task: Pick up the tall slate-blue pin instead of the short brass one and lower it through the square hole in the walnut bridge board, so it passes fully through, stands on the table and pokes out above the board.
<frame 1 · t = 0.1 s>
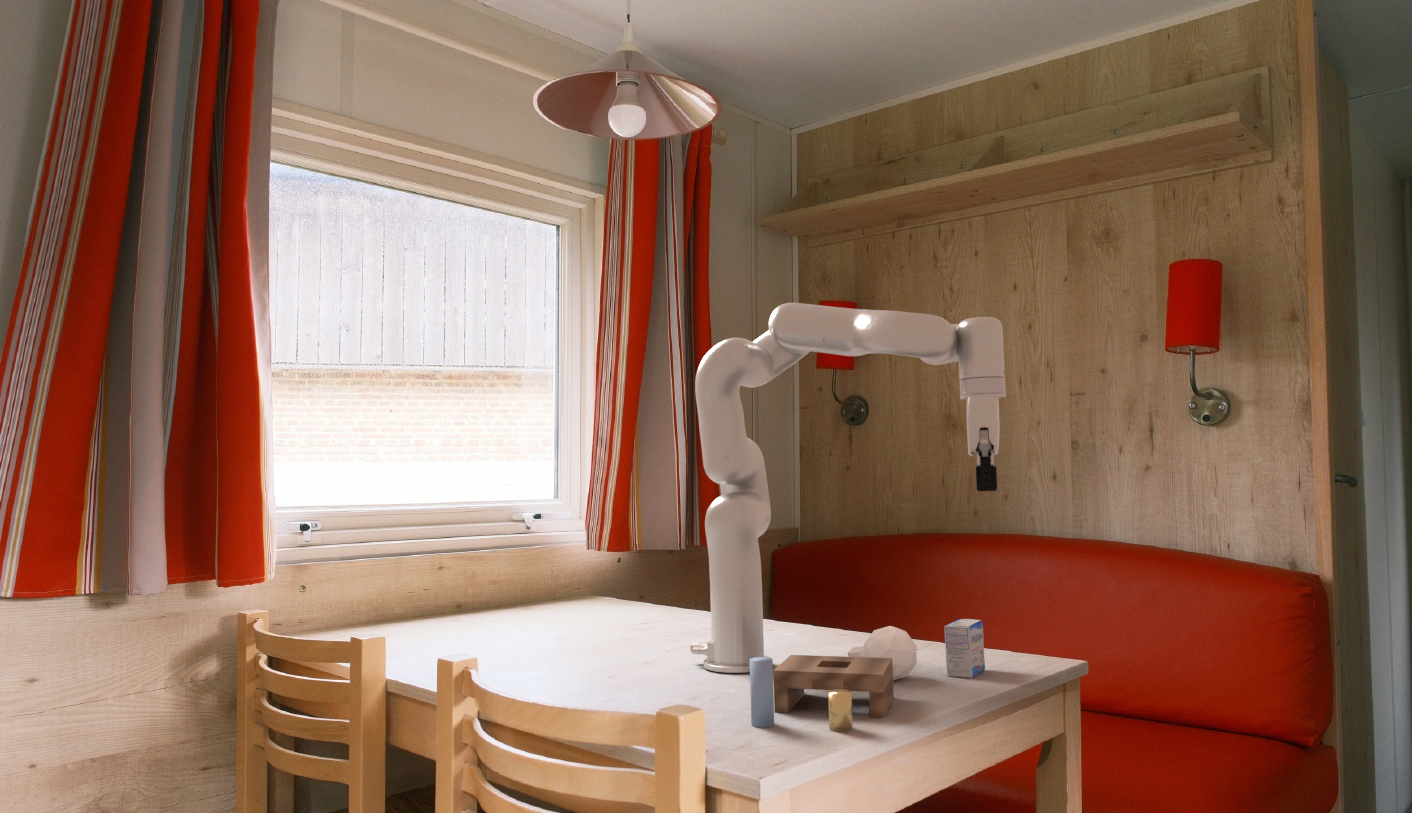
hand: (987, 490, 160), 31 cm above the table, fingers open, 9 cm apart
hole board: (835, 704, 141), on the table
long pin: (762, 724, 132), on the table
short pin: (841, 728, 128), on the table
medicine box: (966, 674, 161), on the table
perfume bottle: (885, 678, 159), on the table
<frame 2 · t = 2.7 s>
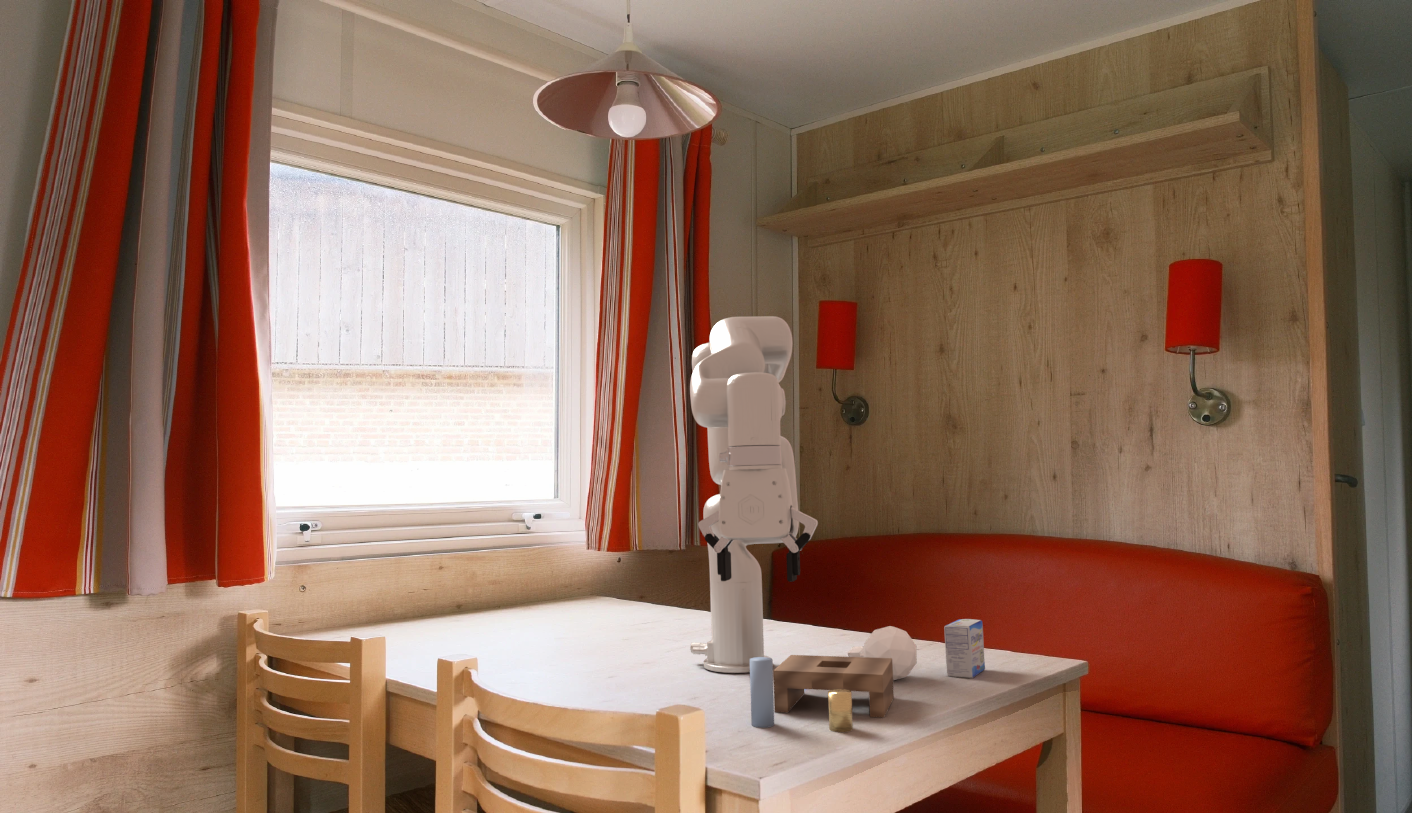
hand: (758, 580, 133), 20 cm above the table, fingers open, 9 cm apart
nothing on the table moved.
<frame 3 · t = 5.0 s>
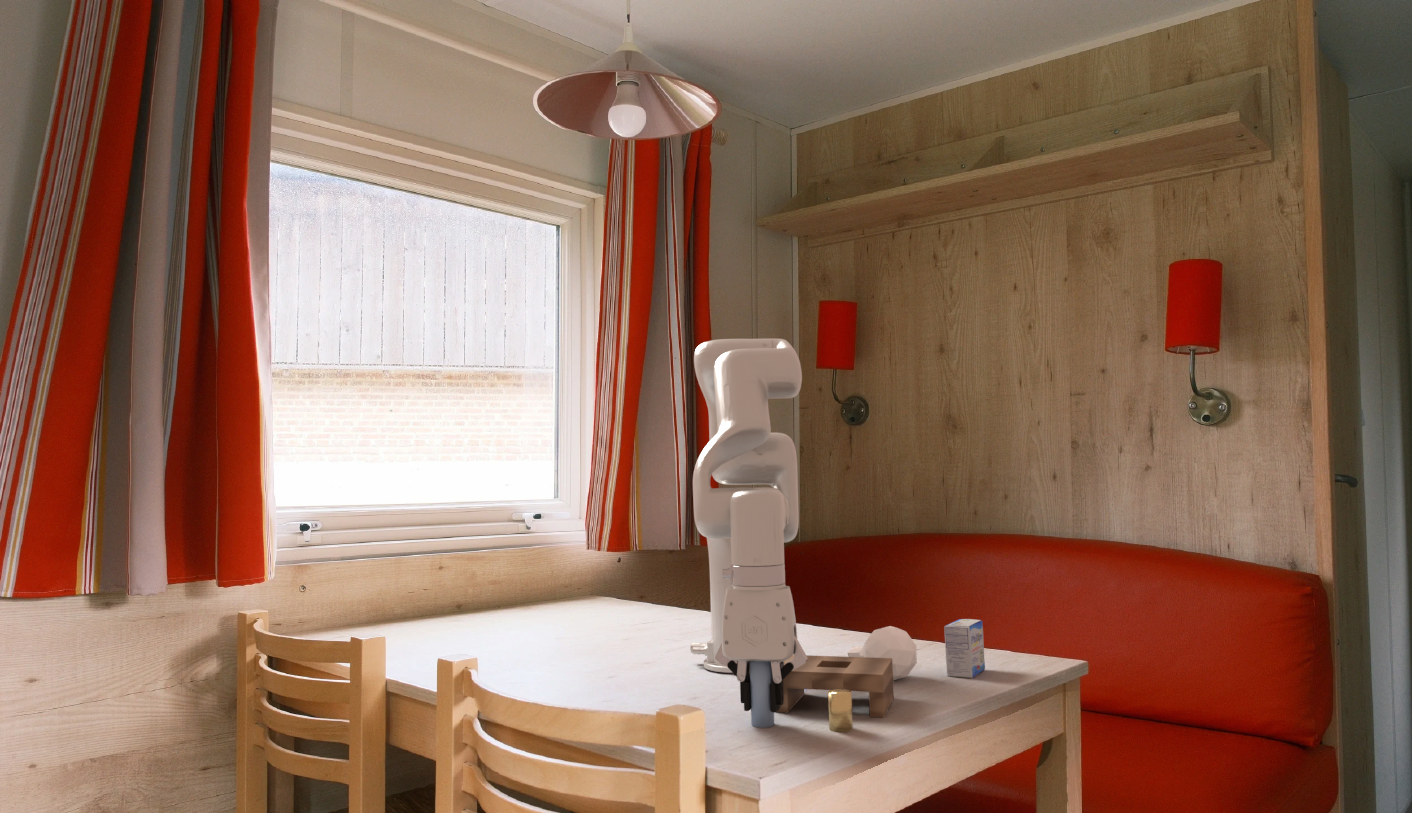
hand: (762, 707, 132), 2 cm above the table, fingers closed on long pin, 3 cm apart
long pin: (762, 724, 132), on the table, touching gripper
everything else where it was.
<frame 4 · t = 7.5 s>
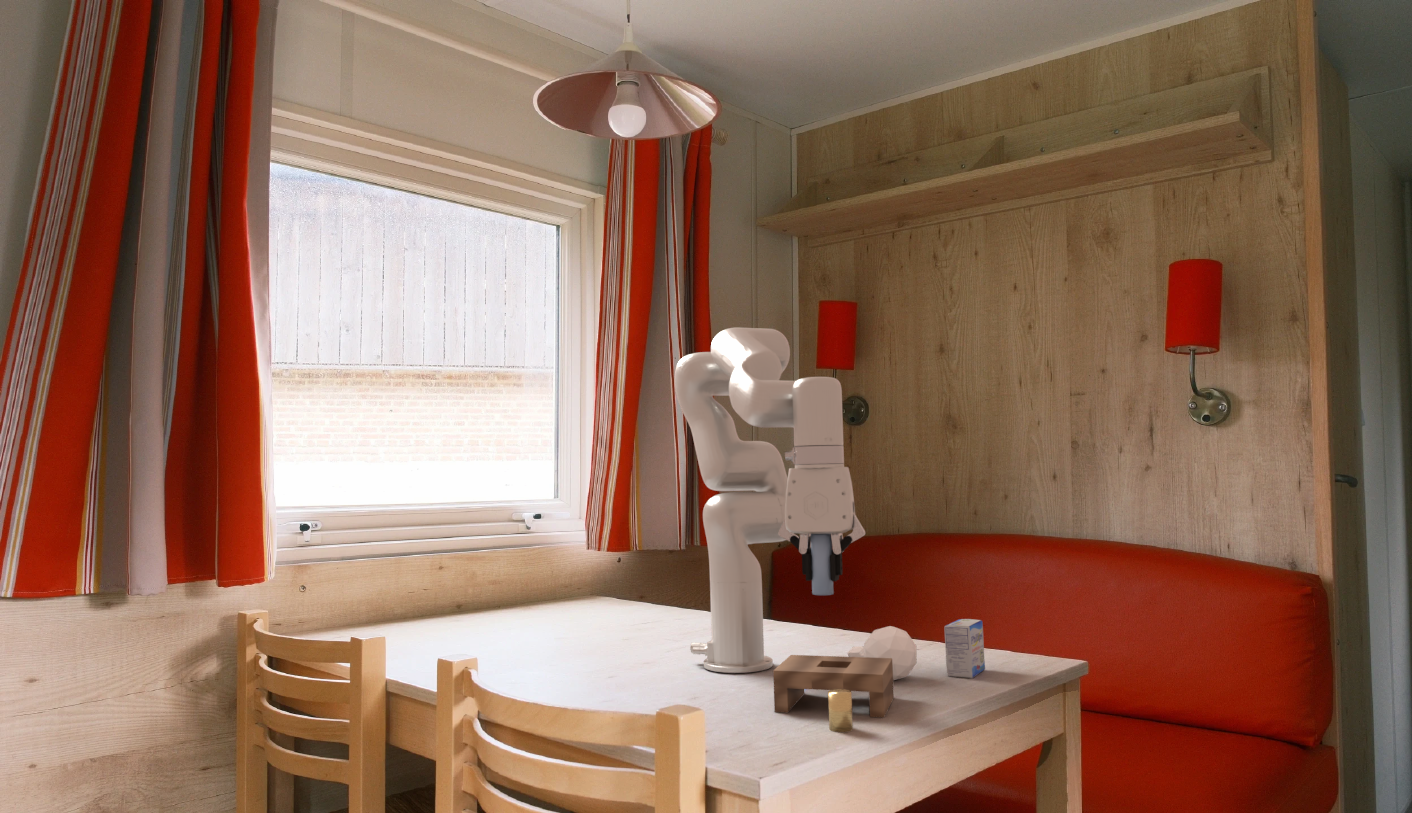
hand: (822, 578, 142), 19 cm above the table, fingers closed on long pin, 3 cm apart
long pin: (822, 593, 142), point 17 cm above the table, touching gripper
everything else where it was.
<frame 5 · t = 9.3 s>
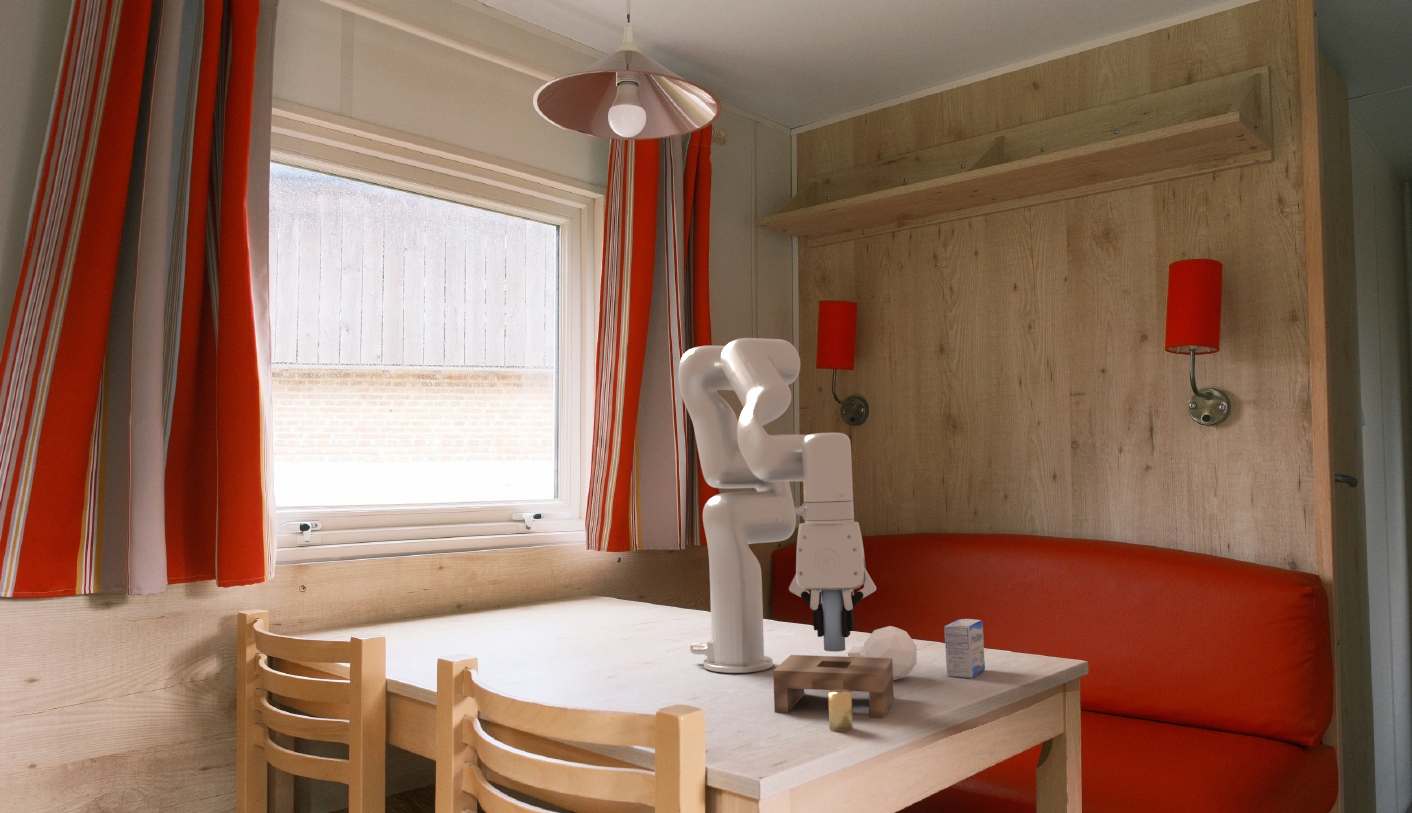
hand: (834, 634, 142), 10 cm above the table, fingers closed on long pin, 3 cm apart
long pin: (834, 649, 142), point 8 cm above the table, touching gripper
everything else where it was.
when the fingers open (7 cm above the table, at t = 10.2 s): long pin drops 5 cm, on the table.
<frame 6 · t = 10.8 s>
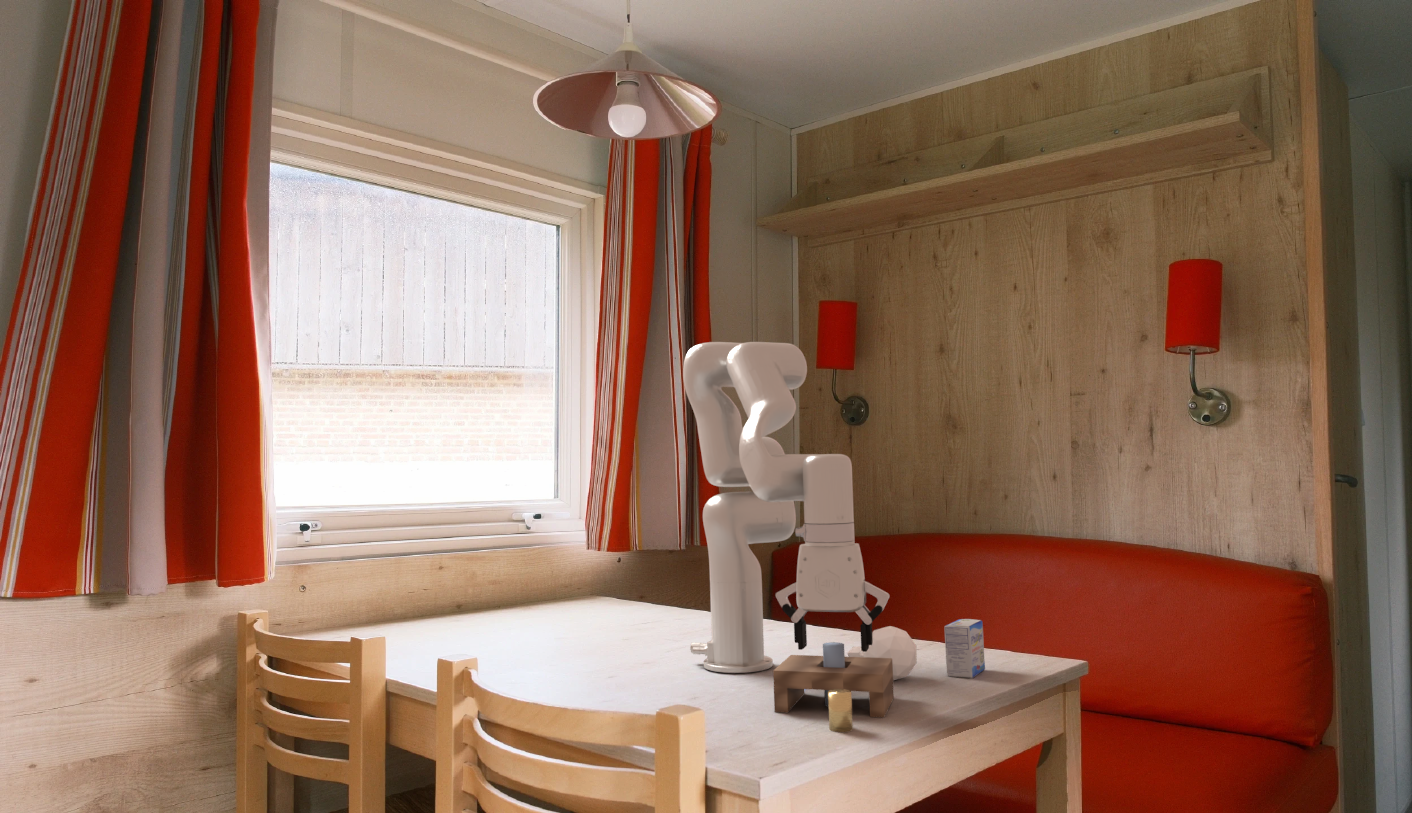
hand: (833, 648, 142), 8 cm above the table, fingers open, 9 cm apart
long pin: (835, 704, 141), on the table
everything else where it was.
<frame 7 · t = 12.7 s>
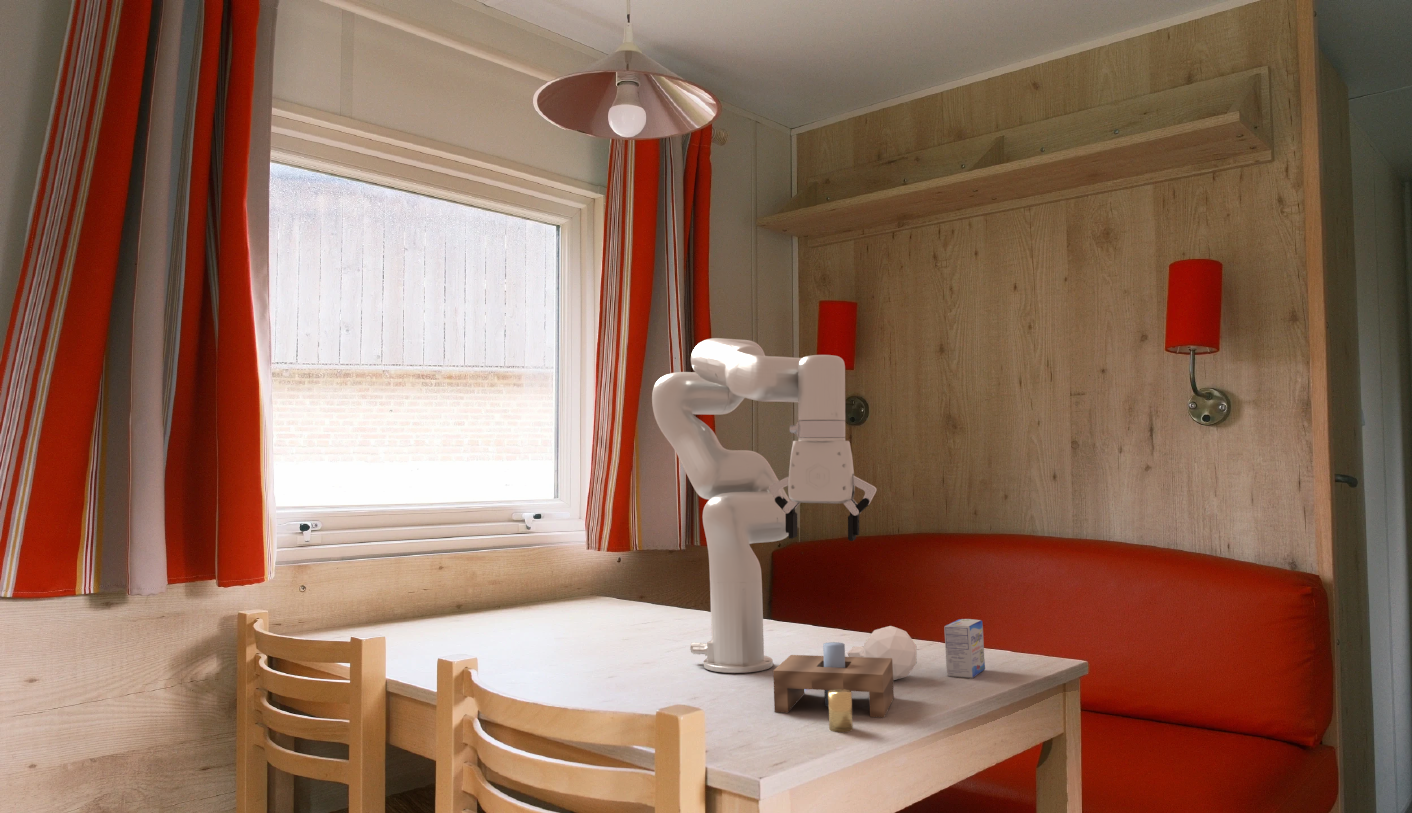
hand: (822, 538, 150), 24 cm above the table, fingers open, 9 cm apart
nothing on the table moved.
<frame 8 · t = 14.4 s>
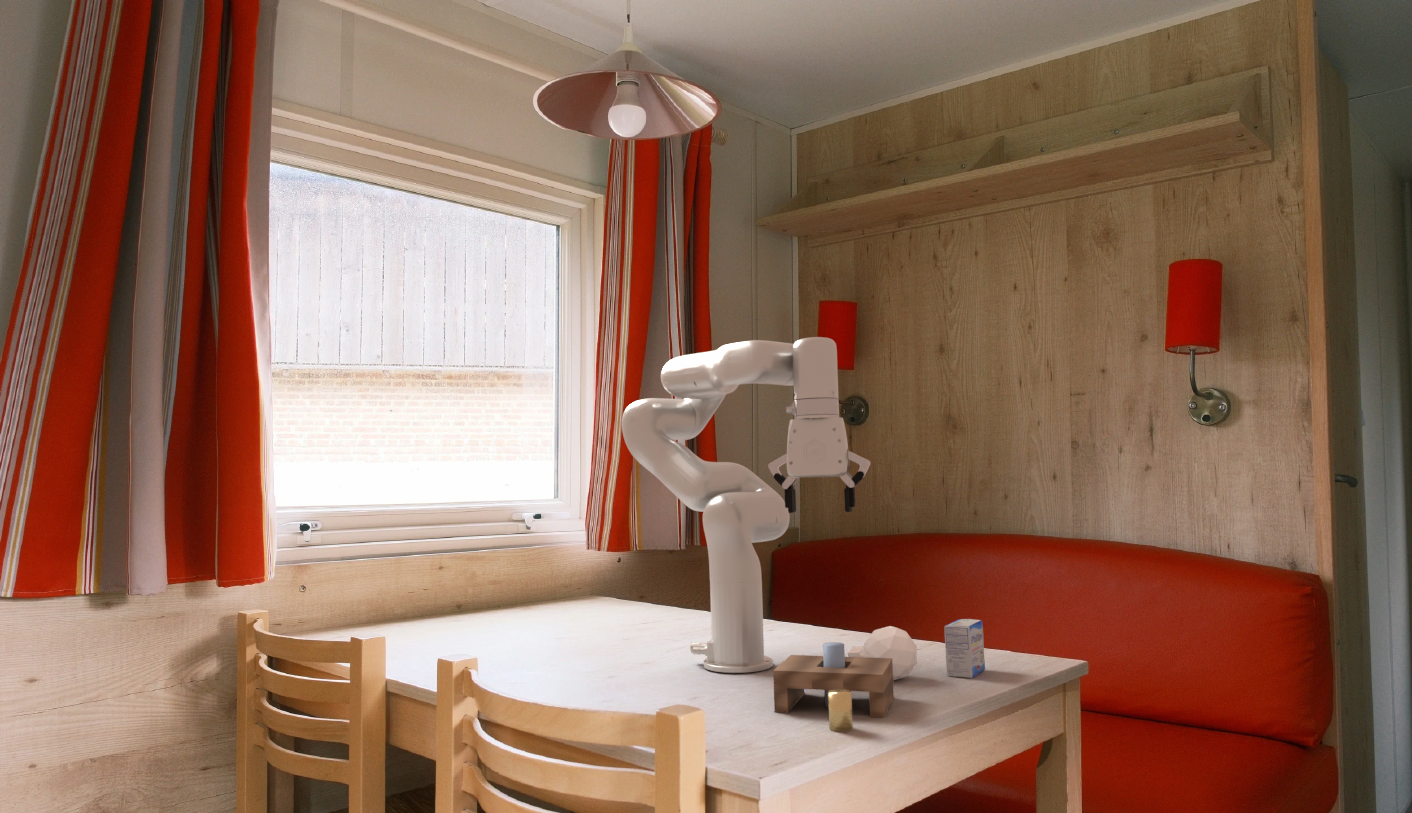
hand: (820, 511, 158), 28 cm above the table, fingers open, 9 cm apart
nothing on the table moved.
at the end: long pin 0.0 cm off-centre on the hole board, point 0.0 cm above the hole board's base; long pin tilted 0°; short pin moved 0.0 cm from its start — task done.
